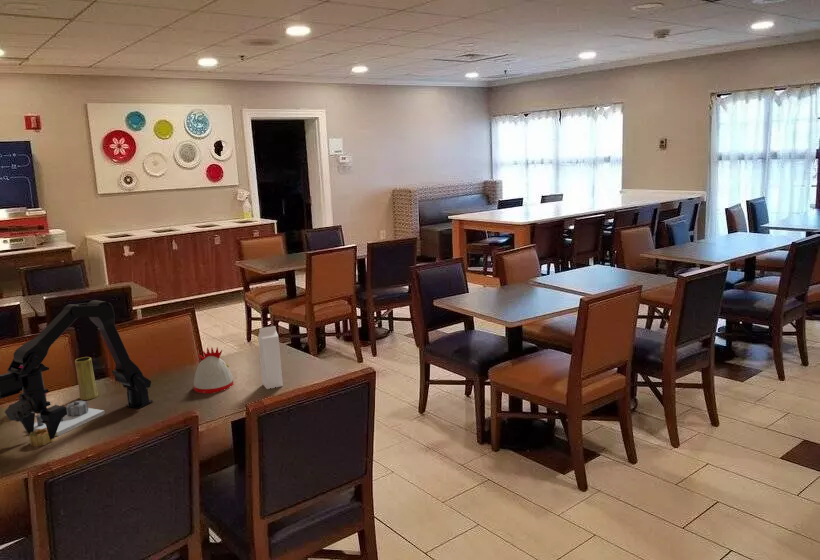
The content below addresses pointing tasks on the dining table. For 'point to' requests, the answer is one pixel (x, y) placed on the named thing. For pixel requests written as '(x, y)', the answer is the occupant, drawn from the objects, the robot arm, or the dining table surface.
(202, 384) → the kitchen timer
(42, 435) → the gear
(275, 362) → the milk
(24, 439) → the dining table surface
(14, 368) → the robot arm
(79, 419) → the gear board
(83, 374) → the vase
